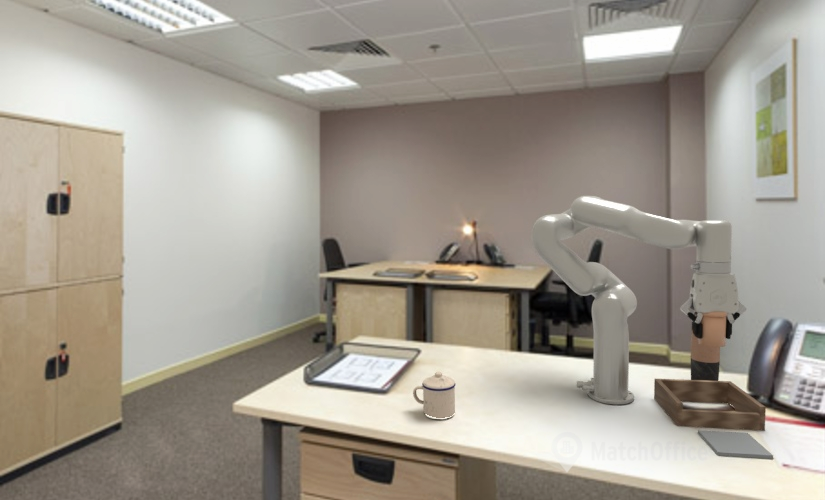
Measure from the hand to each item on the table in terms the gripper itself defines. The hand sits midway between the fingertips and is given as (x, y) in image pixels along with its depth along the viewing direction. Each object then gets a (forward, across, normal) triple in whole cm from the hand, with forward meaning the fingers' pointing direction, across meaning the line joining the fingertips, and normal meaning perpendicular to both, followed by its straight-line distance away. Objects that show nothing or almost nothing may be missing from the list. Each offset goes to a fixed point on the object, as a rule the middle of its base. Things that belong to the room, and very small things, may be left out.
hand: (712, 336), depth 124 cm
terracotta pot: (+2, 0, 0) cm, 2 cm away
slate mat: (+22, -2, -15) cm, 26 cm away
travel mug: (+22, +9, +24) cm, 33 cm away
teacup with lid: (+21, -72, -4) cm, 75 cm away
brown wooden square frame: (+22, 0, +3) cm, 22 cm away
